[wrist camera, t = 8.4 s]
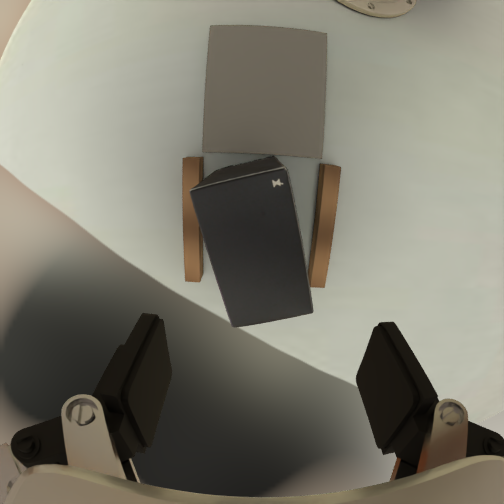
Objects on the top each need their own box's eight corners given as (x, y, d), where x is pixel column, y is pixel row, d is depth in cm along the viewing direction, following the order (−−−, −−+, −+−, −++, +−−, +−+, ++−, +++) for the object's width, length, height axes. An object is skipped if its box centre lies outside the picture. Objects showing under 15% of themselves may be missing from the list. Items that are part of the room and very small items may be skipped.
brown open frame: (187, 157, 25) (182, 158, 24) (335, 165, 26) (341, 167, 24) (189, 272, 30) (185, 281, 28) (320, 278, 30) (324, 287, 28)
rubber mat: (211, 27, 21) (210, 25, 20) (325, 35, 21) (326, 33, 20) (203, 151, 25) (202, 152, 25) (320, 158, 25) (321, 158, 25)
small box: (208, 170, 26) (182, 187, 16) (276, 154, 25) (290, 161, 16) (236, 270, 30) (228, 332, 20) (298, 257, 29) (318, 314, 19)
